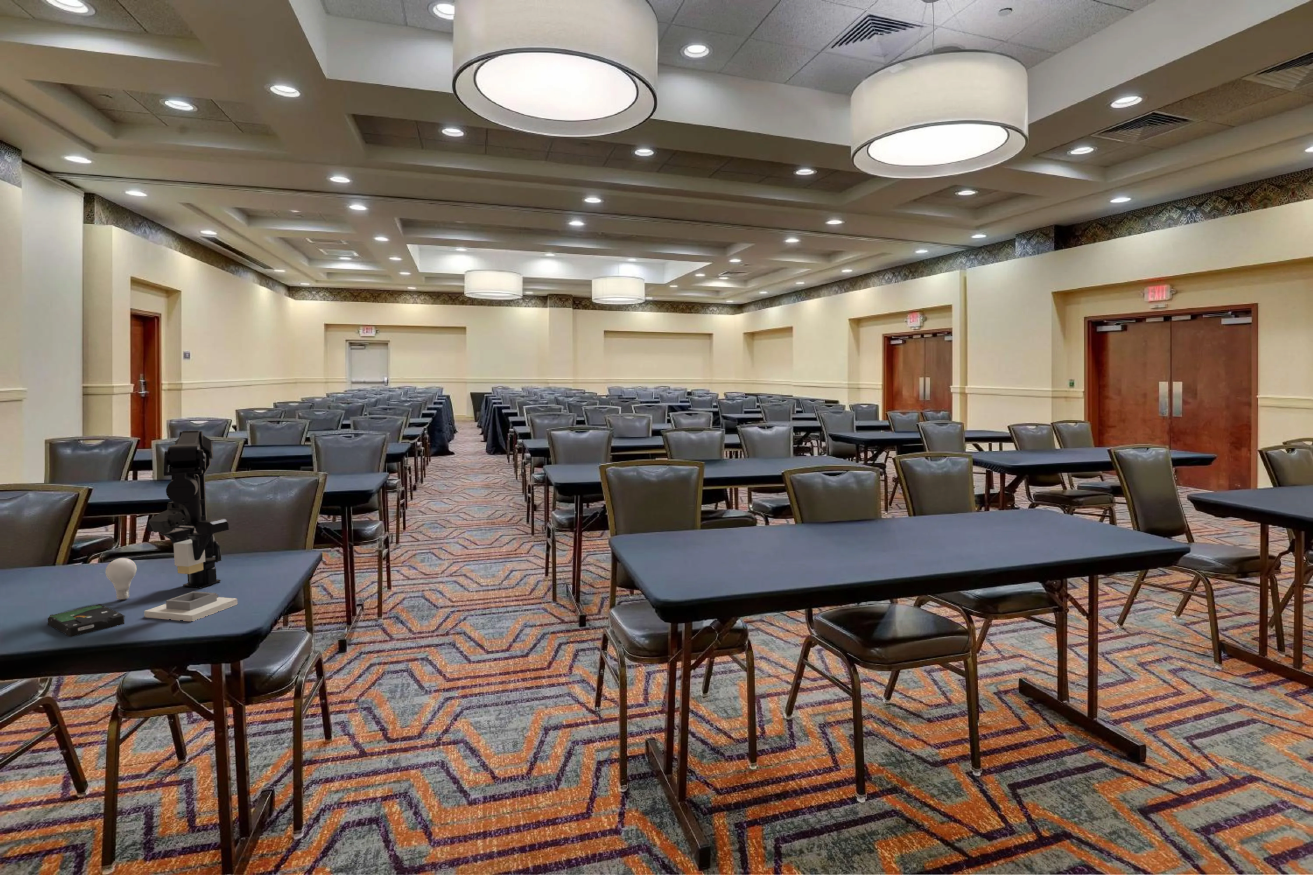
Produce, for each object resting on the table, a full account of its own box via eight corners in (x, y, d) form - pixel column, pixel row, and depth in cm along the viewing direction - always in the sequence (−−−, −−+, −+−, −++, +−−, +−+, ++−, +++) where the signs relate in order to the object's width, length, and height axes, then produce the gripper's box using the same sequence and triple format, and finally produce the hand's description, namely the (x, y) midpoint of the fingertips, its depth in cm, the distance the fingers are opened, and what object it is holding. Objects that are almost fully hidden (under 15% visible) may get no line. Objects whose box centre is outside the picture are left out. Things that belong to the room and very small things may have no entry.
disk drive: (126, 626, 161) (100, 613, 169) (125, 614, 160) (99, 602, 168) (70, 639, 152) (46, 626, 160) (69, 627, 152) (45, 614, 160)
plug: (175, 573, 167) (173, 543, 166) (192, 568, 172) (190, 539, 171) (188, 574, 166) (187, 544, 165) (205, 569, 171) (204, 539, 170)
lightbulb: (144, 597, 180) (141, 556, 179) (118, 604, 174) (115, 562, 173) (127, 595, 182) (125, 554, 181) (101, 602, 176) (98, 560, 175)
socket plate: (144, 617, 165) (143, 602, 164) (192, 600, 177) (191, 587, 177) (192, 621, 162) (191, 607, 161) (237, 604, 174) (236, 590, 174)
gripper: (123, 500, 162) (127, 565, 163) (188, 503, 157) (192, 570, 159) (166, 493, 172) (170, 554, 174) (228, 496, 168) (232, 558, 169)
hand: (190, 559), depth 169 cm, fingers closed on plug, 4 cm apart
